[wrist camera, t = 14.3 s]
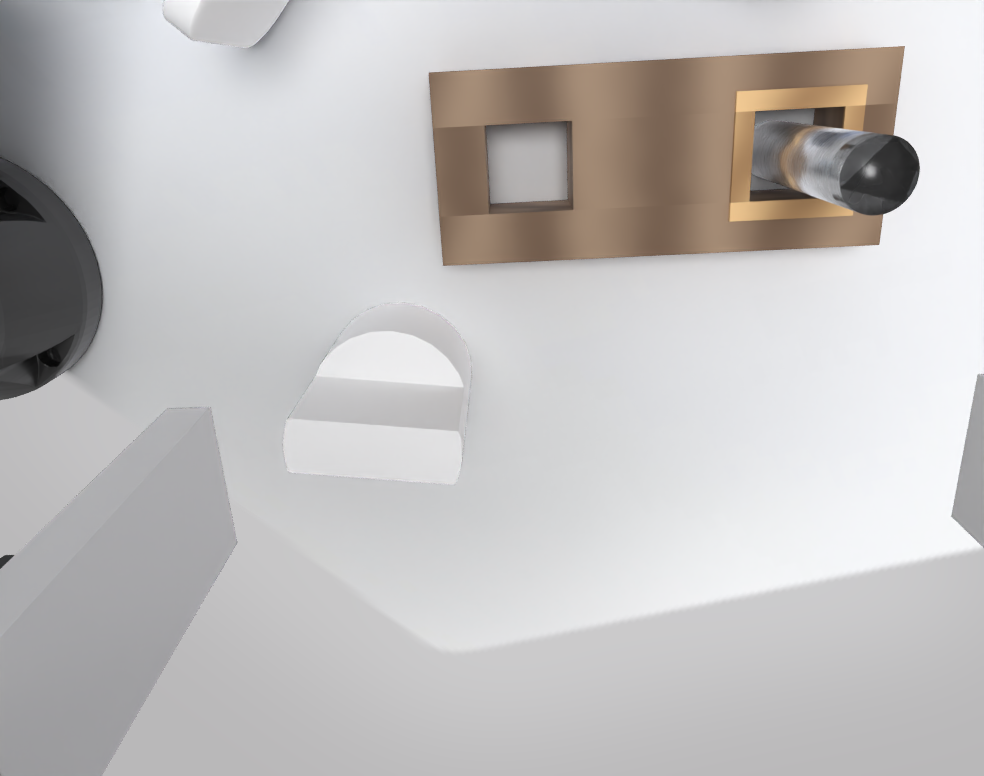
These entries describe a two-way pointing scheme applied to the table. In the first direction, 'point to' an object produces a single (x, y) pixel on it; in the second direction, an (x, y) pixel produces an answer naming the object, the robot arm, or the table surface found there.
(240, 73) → the table surface
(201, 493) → the robot arm
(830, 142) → the lock pin
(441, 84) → the mount block
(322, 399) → the cylinder with rectangular tab
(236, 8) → the cable organizer
